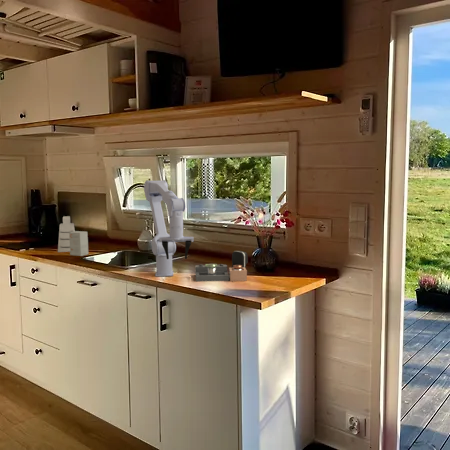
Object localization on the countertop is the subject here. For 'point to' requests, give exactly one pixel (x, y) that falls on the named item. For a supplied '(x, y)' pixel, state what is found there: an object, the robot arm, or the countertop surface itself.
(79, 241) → the small box
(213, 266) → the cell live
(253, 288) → the countertop surface
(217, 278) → the tester
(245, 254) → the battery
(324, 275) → the countertop surface
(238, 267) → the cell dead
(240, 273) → the cup
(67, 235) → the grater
